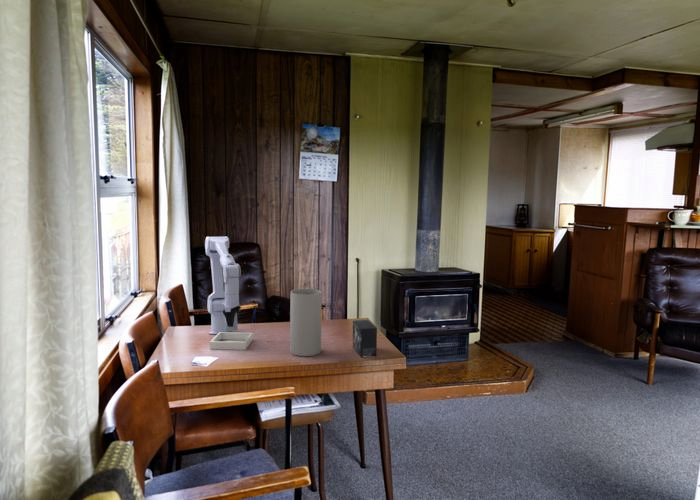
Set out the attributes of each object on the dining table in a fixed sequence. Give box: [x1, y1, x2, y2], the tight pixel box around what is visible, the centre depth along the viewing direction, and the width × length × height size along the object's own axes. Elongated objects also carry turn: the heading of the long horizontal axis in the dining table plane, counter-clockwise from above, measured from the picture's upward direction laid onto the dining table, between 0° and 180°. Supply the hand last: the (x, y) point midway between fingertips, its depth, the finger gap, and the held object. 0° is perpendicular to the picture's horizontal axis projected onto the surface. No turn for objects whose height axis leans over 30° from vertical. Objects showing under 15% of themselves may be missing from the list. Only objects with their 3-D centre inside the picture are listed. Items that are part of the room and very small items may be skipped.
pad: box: [224, 340, 243, 342], centre depth 211 cm, size 7×7×1 cm
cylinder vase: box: [289, 288, 323, 357], centre depth 201 cm, size 12×12×25 cm
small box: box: [352, 319, 378, 358], centre depth 203 cm, size 13×7×12 cm, turn 15°
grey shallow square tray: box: [209, 331, 254, 351], centre depth 210 cm, size 15×15×3 cm
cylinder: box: [225, 313, 239, 332], centre depth 210 cm, size 5×5×7 cm
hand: (231, 324), depth 210 cm, fingers closed on cylinder, 5 cm apart
